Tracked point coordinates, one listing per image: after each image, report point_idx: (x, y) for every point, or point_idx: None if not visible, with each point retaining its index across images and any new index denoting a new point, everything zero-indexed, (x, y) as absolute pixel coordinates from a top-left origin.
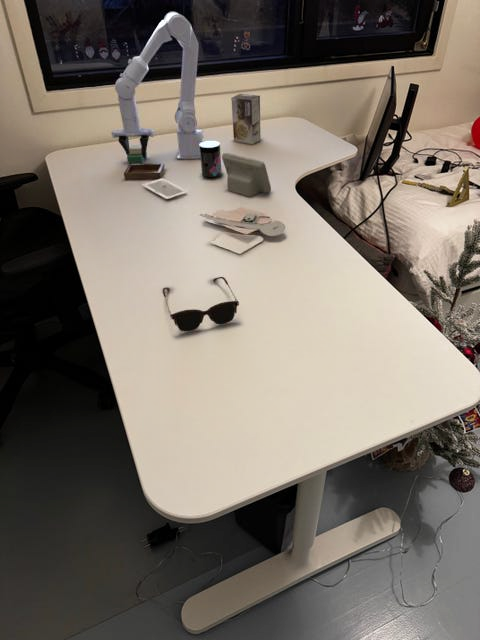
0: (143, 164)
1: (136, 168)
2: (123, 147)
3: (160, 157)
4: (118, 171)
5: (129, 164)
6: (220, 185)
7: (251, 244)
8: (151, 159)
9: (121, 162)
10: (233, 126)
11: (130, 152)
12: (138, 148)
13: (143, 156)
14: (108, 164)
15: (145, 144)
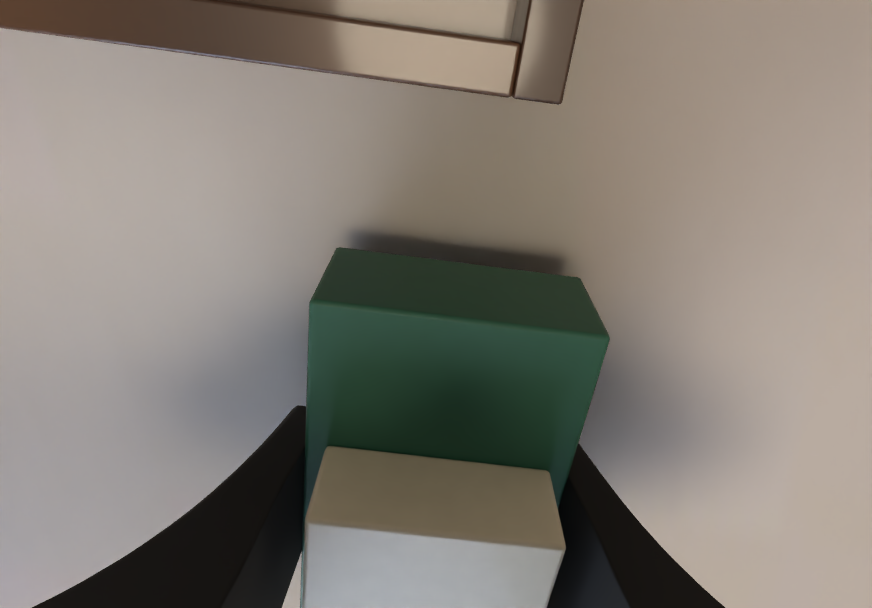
0: (235, 6)
1: (417, 25)
2: (693, 586)
3: (164, 508)
4: (753, 108)
5: (557, 75)
6: None
7: None
8: None
9: (667, 453)
10: None
11: (534, 486)
12: (351, 532)
13: None
14: (854, 422)
15: (108, 567)
